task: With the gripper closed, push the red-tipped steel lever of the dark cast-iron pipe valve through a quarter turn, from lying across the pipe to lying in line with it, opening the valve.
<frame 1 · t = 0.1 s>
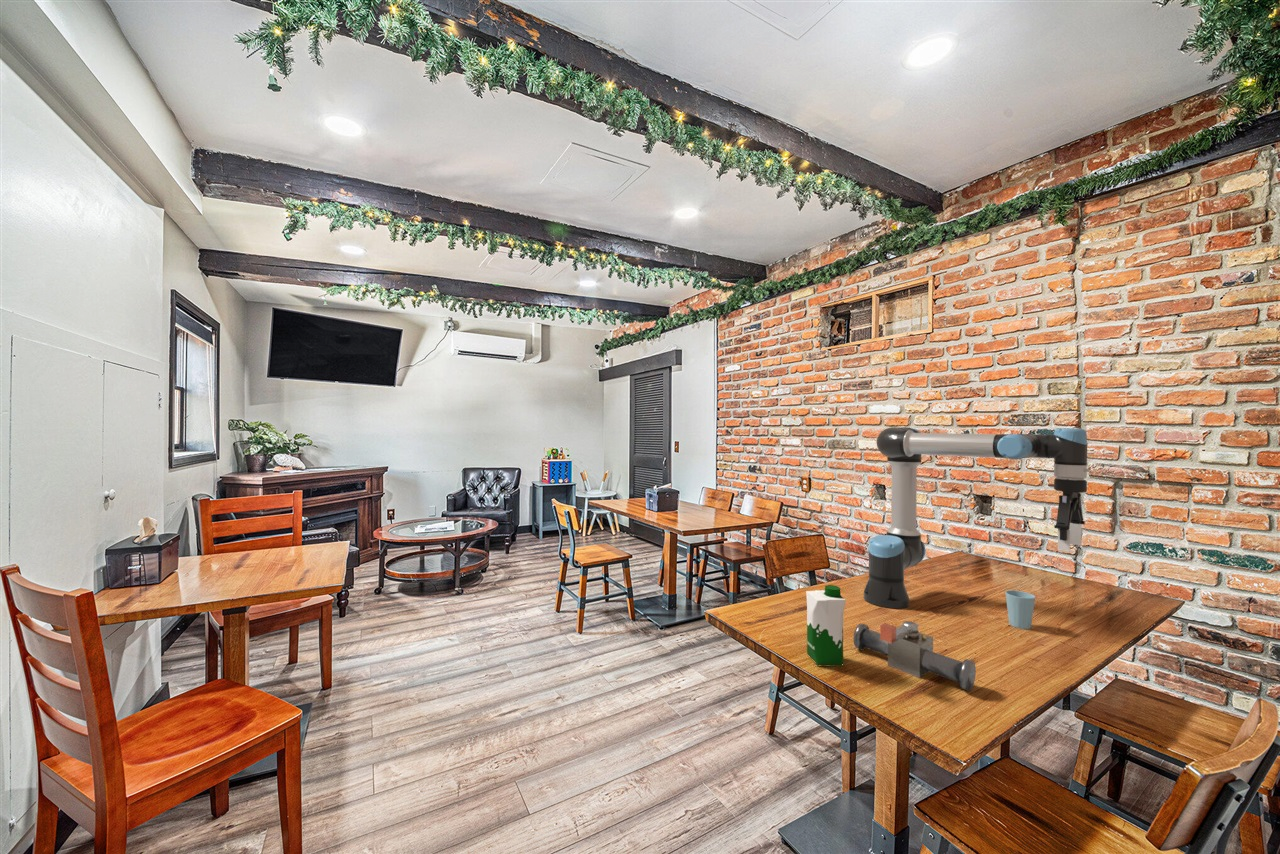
hand: (1069, 547, 147), 28 cm above the table, fingers open, 13 cm apart
milk carton: (824, 660, 132), on the table
valve body: (910, 667, 129), on the table
cup: (1019, 626, 157), on the table
lever: (900, 628, 125), point 12 cm above the table, hinge at 0.0°
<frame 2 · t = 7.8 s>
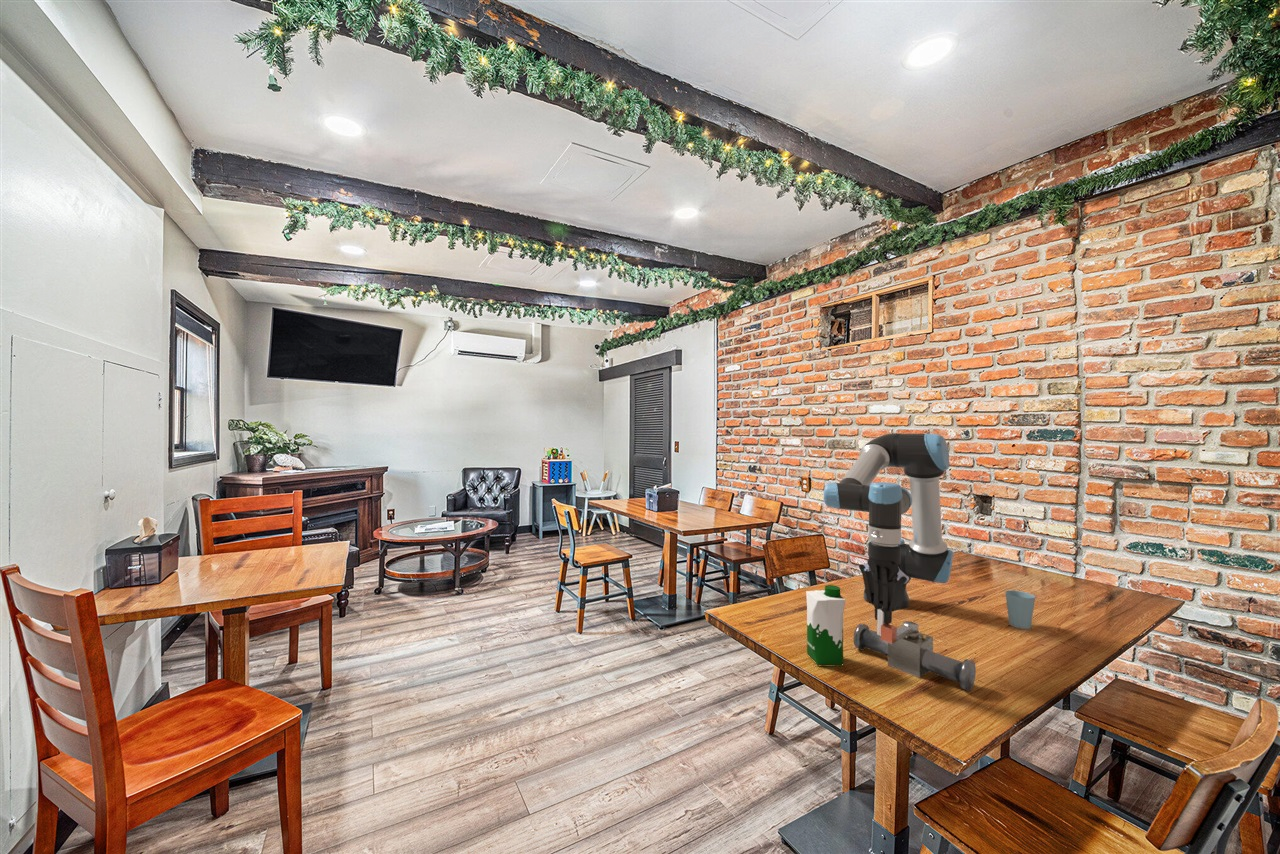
hand: (882, 634, 124), 11 cm above the table, fingers closed
lever: (900, 628, 125), point 12 cm above the table, hinge at 0.4°, touching gripper
everything else where it was.
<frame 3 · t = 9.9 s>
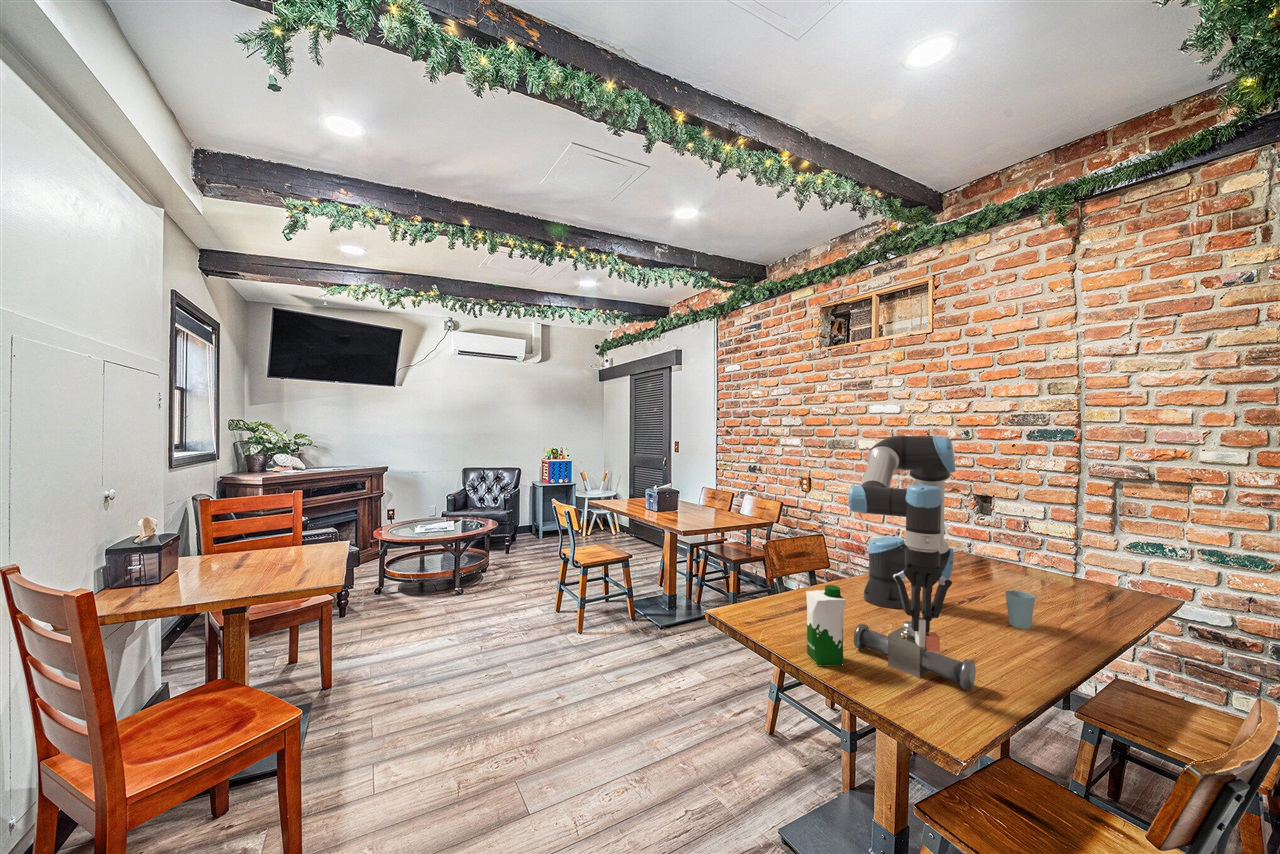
hand: (920, 644, 118), 11 cm above the table, fingers closed
lever: (919, 631, 123), point 12 cm above the table, hinge at 44.1°, touching gripper
everything else where it was.
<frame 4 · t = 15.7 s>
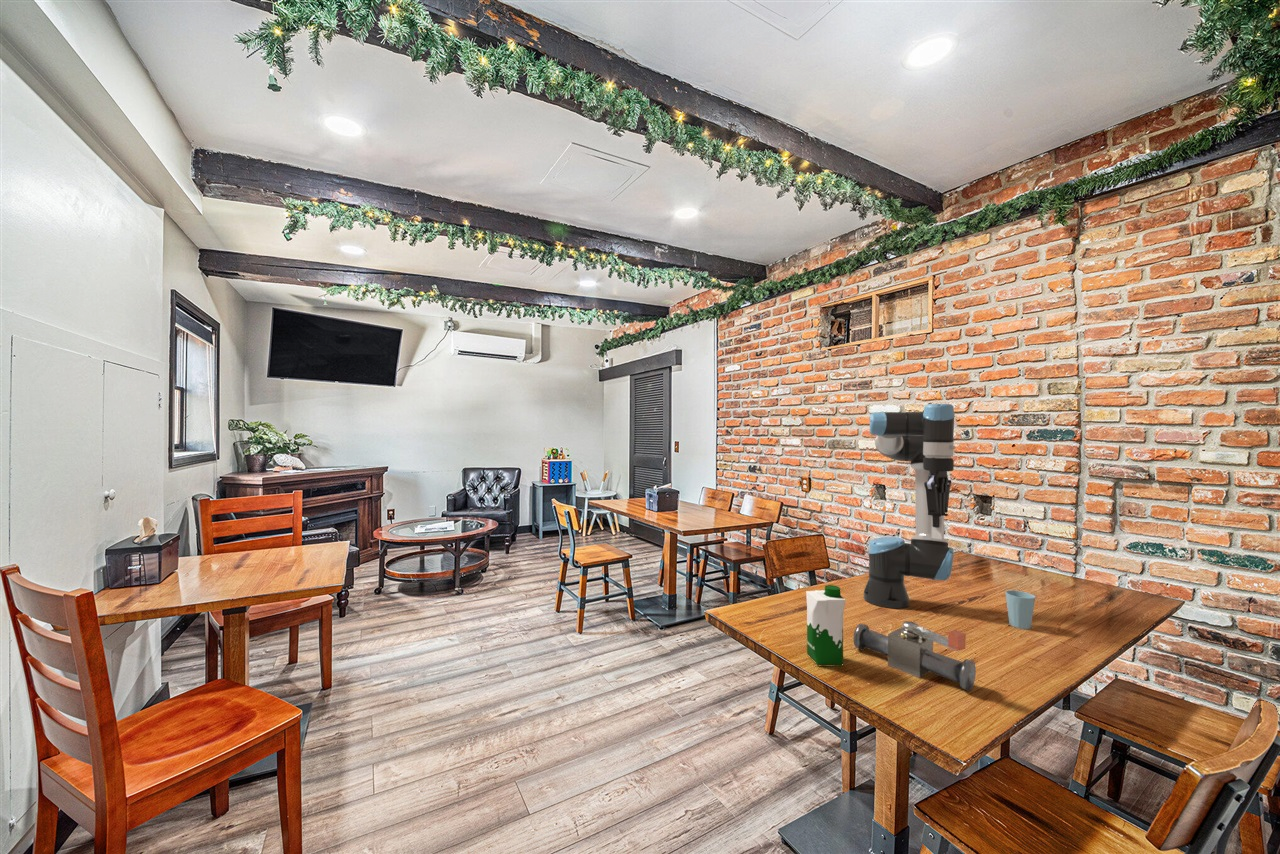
hand: (937, 538, 139), 32 cm above the table, fingers closed
lever: (931, 631, 123), point 12 cm above the table, hinge at 76.1°
everything else where it was.
at the end: lever at +76° (first picture: +0°) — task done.
